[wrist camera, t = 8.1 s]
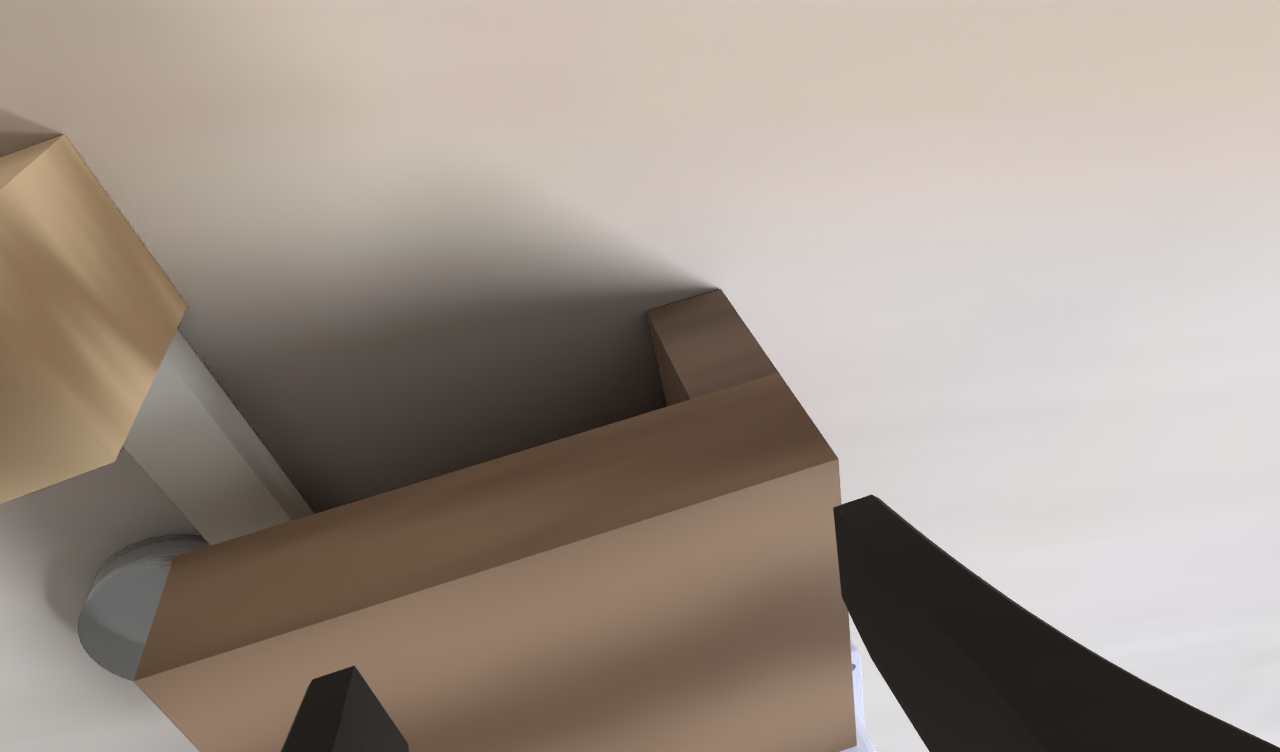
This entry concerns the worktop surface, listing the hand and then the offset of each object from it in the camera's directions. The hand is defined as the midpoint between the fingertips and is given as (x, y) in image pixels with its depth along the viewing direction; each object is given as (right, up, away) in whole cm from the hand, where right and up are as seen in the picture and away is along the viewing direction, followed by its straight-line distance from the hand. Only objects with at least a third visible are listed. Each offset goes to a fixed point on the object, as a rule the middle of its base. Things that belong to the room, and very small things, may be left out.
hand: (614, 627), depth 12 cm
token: (-12, -2, +10) cm, 16 cm away
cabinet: (-3, 0, +11) cm, 12 cm away
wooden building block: (-10, +2, +8) cm, 13 cm away
